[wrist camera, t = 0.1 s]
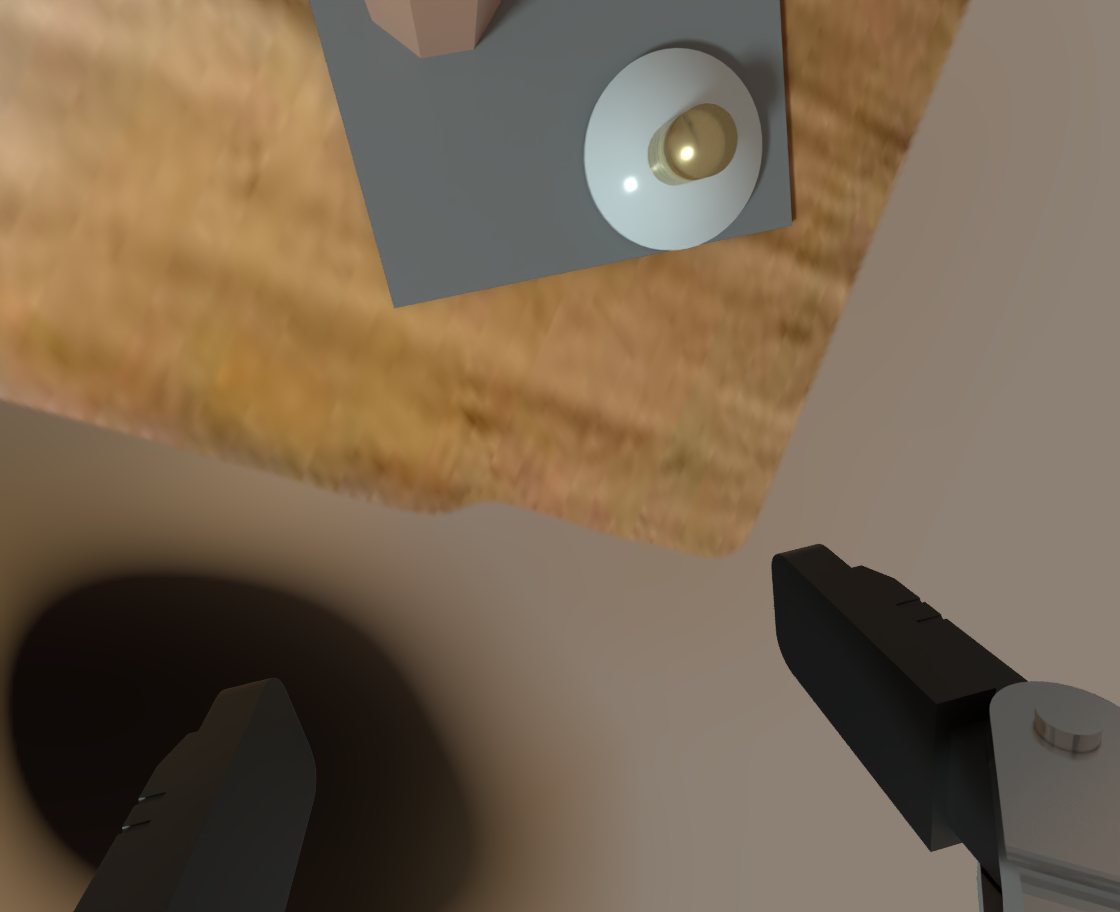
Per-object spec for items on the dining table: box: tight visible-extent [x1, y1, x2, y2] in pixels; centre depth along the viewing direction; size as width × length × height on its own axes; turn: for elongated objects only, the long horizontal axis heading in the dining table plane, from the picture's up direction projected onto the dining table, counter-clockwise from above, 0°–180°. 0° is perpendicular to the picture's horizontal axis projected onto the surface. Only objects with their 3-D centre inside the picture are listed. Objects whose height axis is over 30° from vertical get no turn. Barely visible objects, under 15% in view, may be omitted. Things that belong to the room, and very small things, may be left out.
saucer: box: [583, 48, 762, 250], centre depth 34 cm, size 10×10×1 cm
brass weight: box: [648, 103, 738, 186], centre depth 32 cm, size 3×3×4 cm
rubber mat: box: [309, 0, 792, 308], centre depth 33 cm, size 20×24×1 cm
